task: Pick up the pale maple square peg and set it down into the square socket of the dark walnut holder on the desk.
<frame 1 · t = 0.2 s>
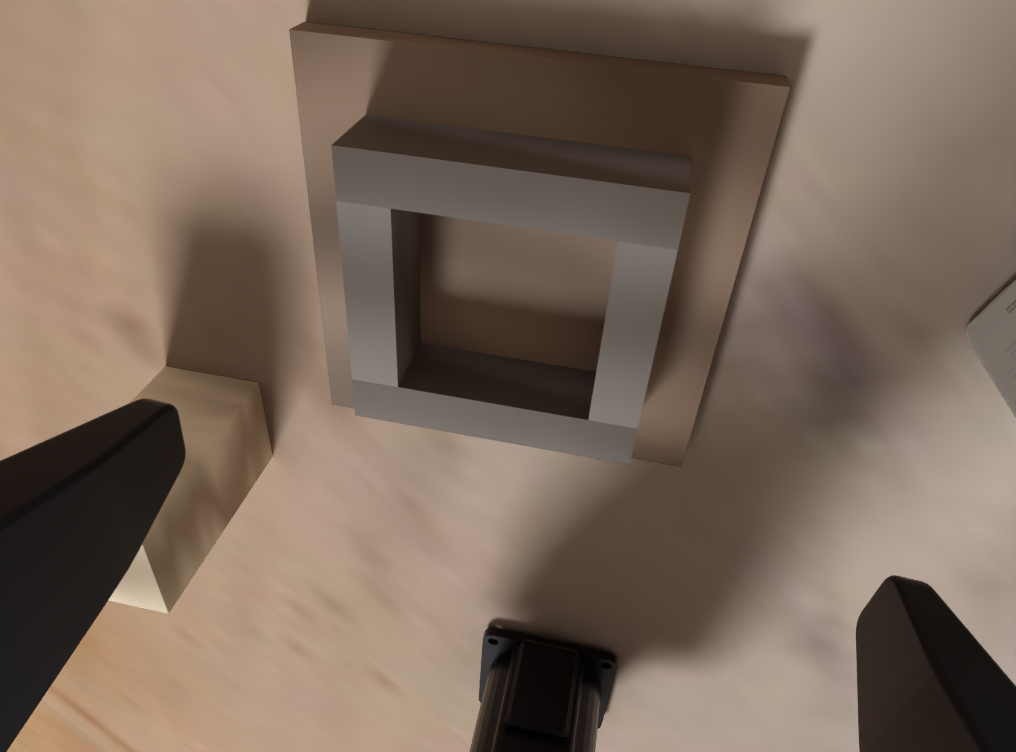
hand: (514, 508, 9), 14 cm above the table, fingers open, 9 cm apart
socket holder: (519, 263, 23), on the table
maple peg: (220, 412, 30), on the table
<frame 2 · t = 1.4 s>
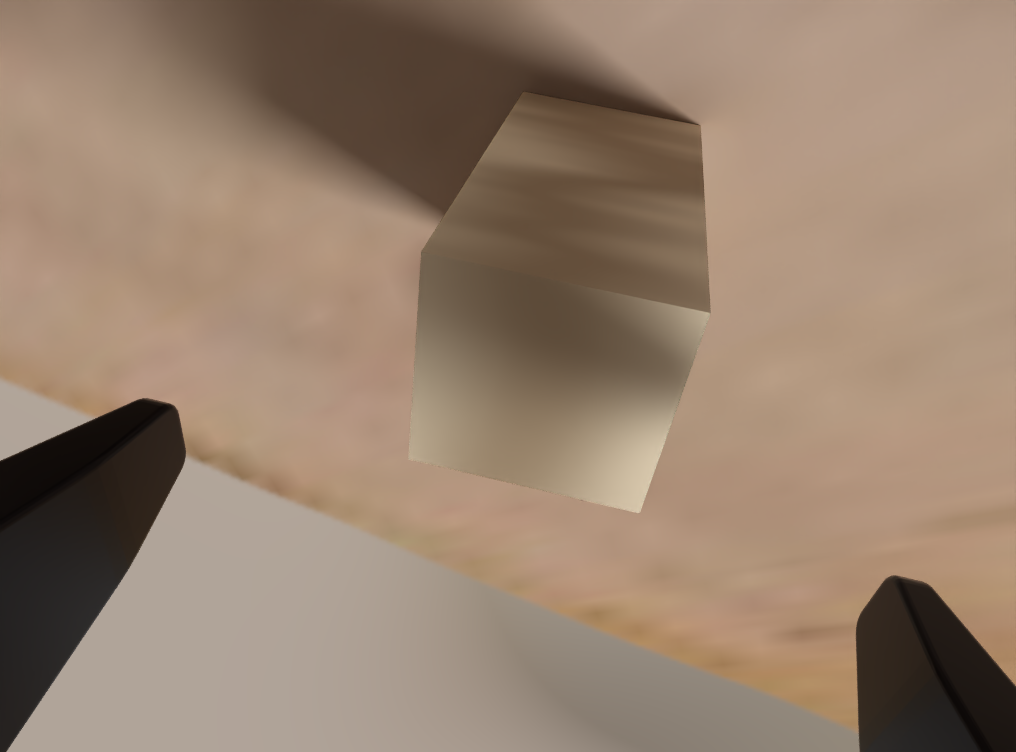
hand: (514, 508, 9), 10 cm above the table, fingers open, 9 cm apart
maple peg: (593, 192, 17), on the table
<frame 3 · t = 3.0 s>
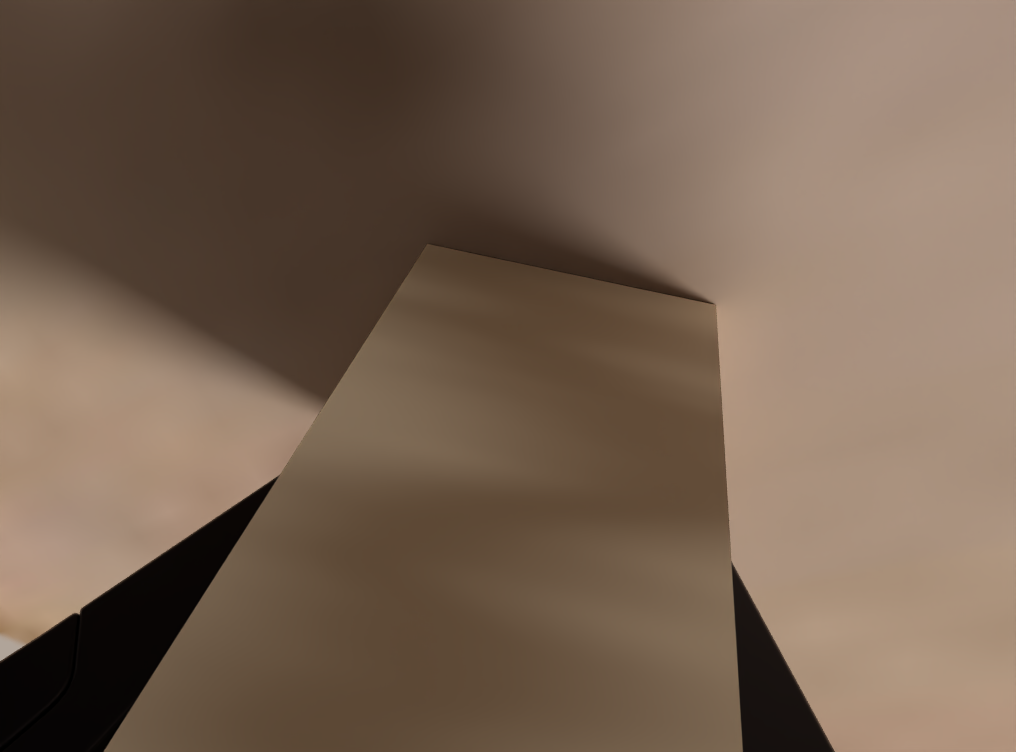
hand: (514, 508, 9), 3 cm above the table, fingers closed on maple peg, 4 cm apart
maple peg: (545, 387, 11), on the table, touching gripper
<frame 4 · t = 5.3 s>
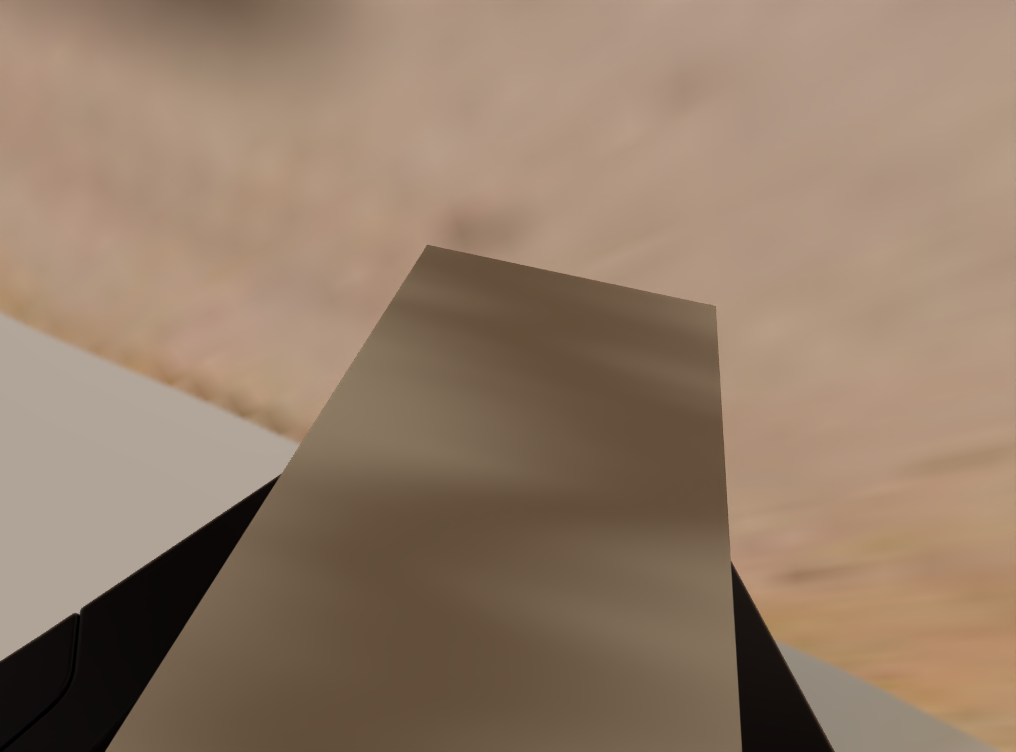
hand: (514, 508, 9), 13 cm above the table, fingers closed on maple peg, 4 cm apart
maple peg: (545, 388, 11), point 10 cm above the table, touching gripper
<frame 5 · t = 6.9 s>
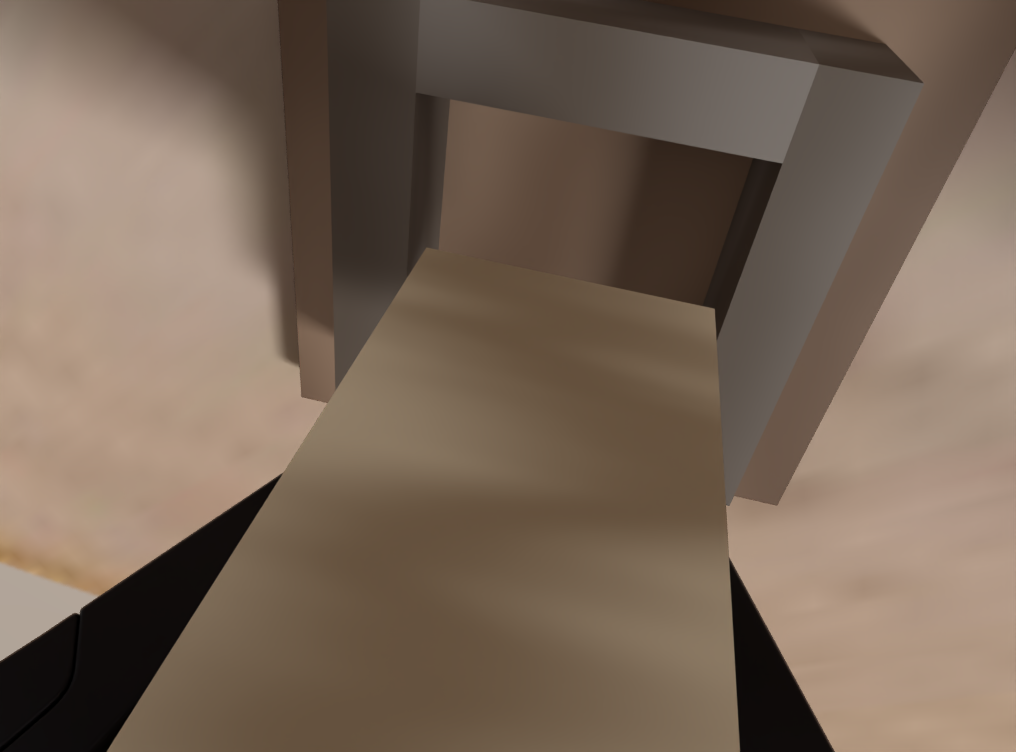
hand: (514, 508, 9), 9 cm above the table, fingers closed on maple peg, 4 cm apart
socket holder: (583, 210, 16), on the table
maple peg: (545, 390, 11), point 7 cm above the table, touching gripper
when the fingers open (5 cm above the table, at t = 8.0 s): maple peg stays where it is, resting on socket holder.
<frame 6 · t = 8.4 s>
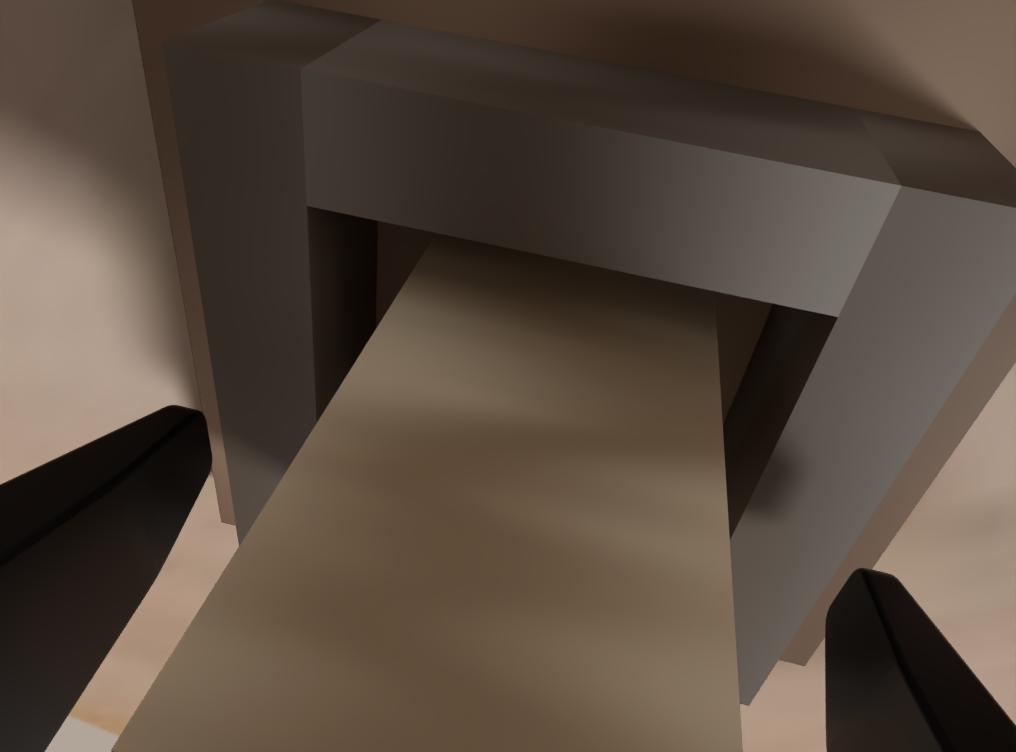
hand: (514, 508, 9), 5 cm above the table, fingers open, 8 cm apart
socket holder: (561, 319, 13), on the table
maple peg: (554, 354, 12), point 1 cm above the table, touching socket holder
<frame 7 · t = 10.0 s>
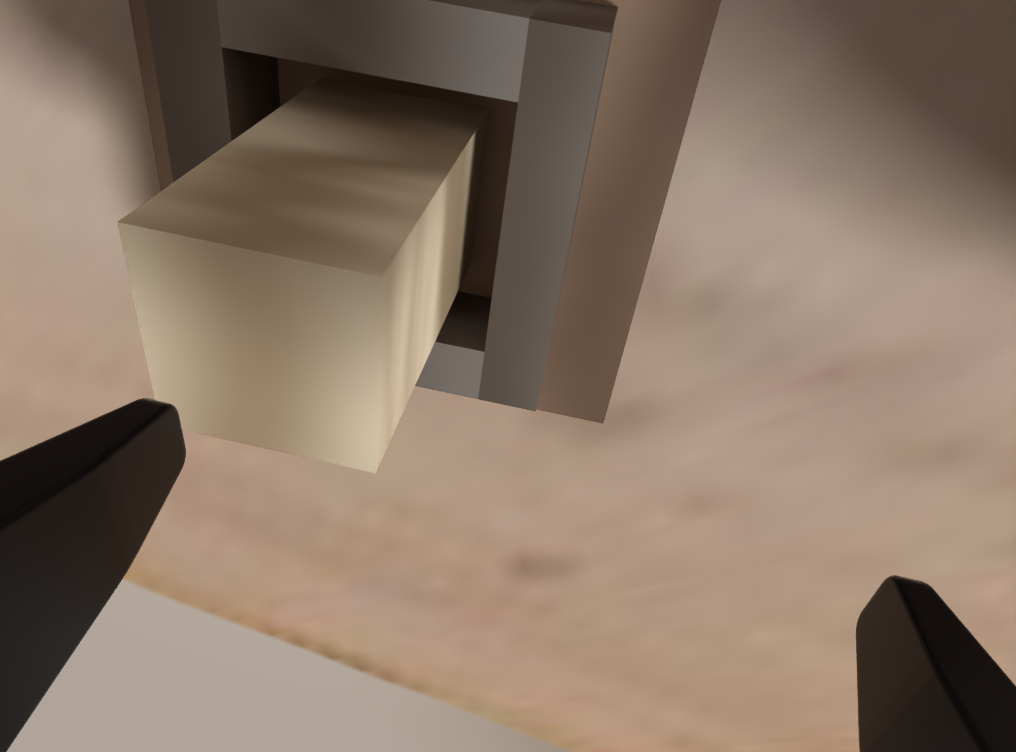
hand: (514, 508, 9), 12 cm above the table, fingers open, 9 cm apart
socket holder: (410, 159, 19), on the table
maple peg: (400, 176, 18), point 1 cm above the table, touching socket holder
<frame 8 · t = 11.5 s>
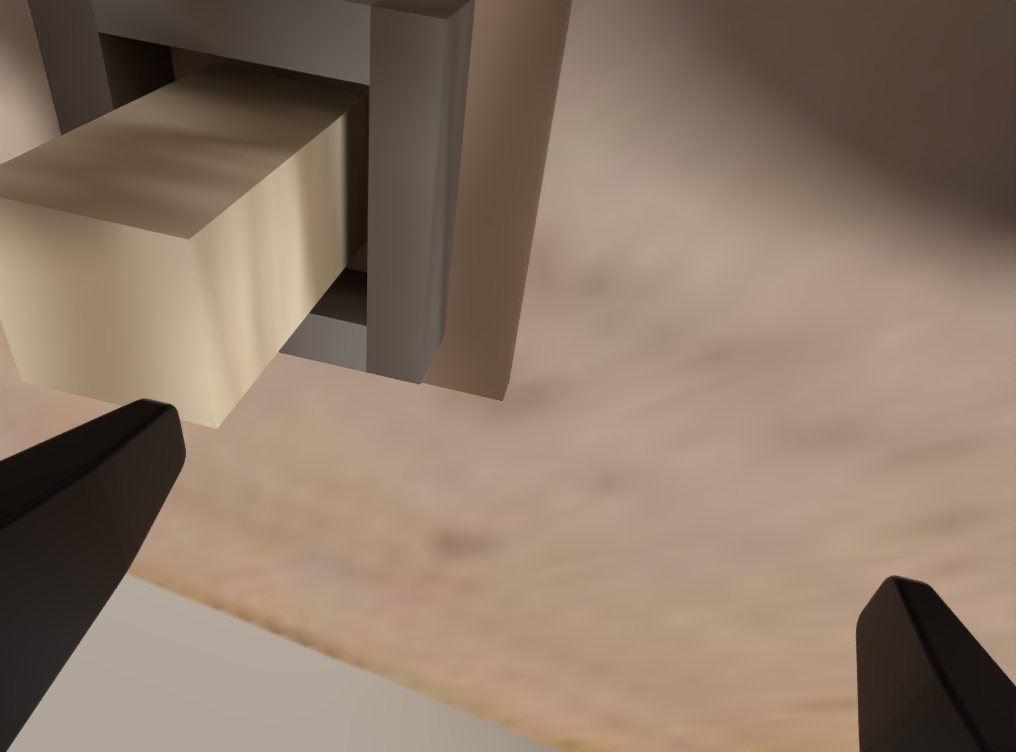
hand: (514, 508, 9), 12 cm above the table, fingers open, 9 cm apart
socket holder: (306, 142, 20), on the table
maple peg: (292, 158, 19), point 1 cm above the table, touching socket holder
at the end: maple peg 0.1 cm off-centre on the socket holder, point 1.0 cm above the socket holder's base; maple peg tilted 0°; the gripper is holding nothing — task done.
